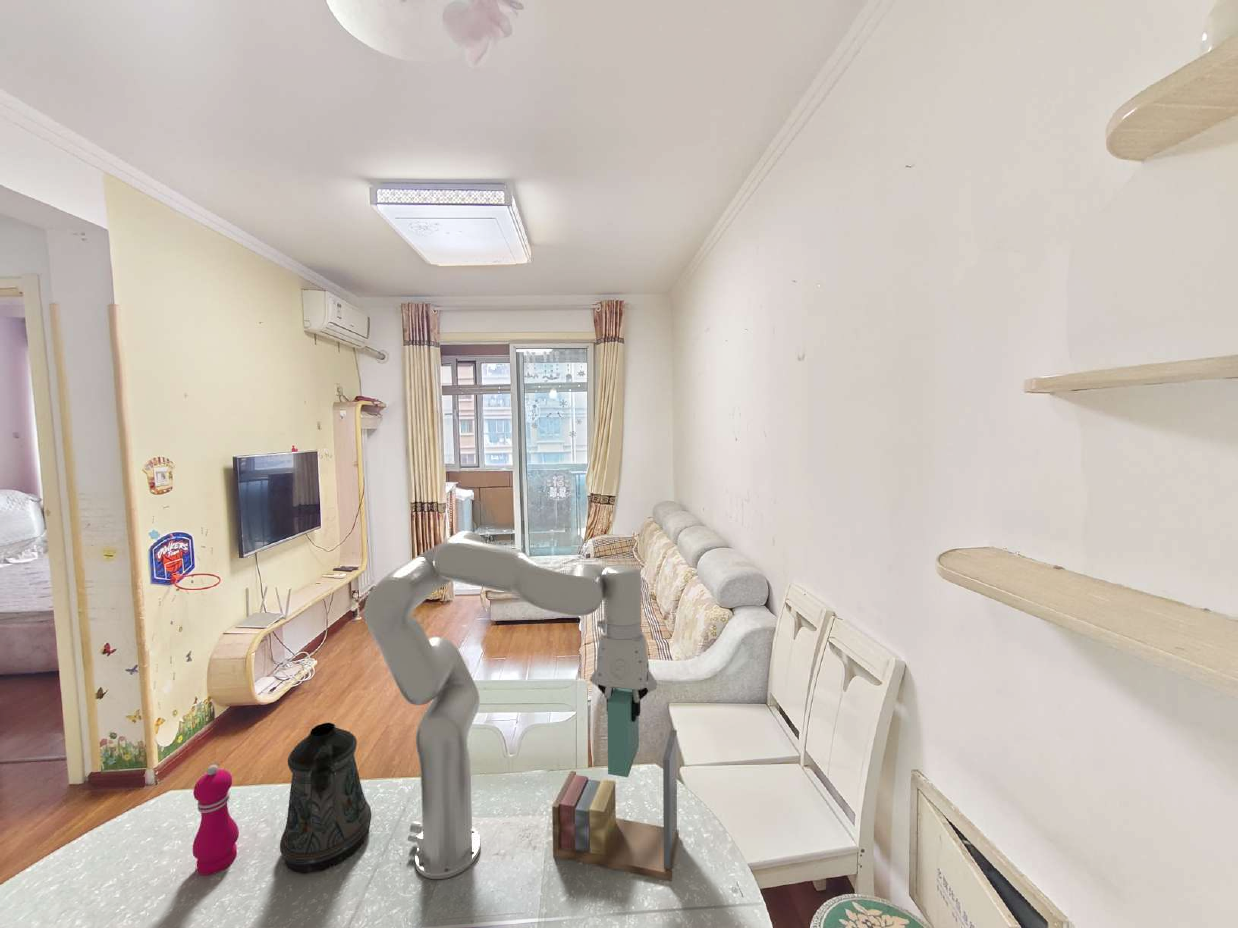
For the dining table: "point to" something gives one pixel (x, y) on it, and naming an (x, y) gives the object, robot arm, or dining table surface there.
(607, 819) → the book rack
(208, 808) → the pepper mill
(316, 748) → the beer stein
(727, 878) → the dining table surface
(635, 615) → the robot arm
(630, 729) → the loose book
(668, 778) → the bookend
